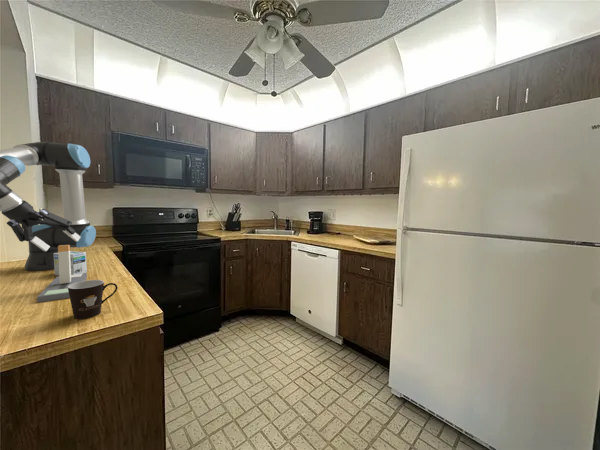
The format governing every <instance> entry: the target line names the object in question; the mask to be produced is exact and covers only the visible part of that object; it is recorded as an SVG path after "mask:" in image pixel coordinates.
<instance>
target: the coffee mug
mask: <svg viewBox="0 0 600 450" xmlns="http://www.w3.org/2000/svg"><path fill="white" fill-rule="evenodd" d="M108 286H114V287H115V289H114V291H113V292H112V293H111V294H109V295H107V296H106V297H105V298H104V299H103V293H104V291H105V289H106V288H107V287H108ZM68 291H69V296H70V298H69V300H70V301H69V302H70V305H71V310H72V314H73V315H72V316H73V319H75V320H86V319H91V318H95V317H97V316H99V315H100V314H101V312H102V304H103V303H105V302H106V301H107V300H108V299H109V298H111V297H112V296H113V295H114V294H115V293H116V292H117V291H118V285H117V284H116V283H114V282H110V283H109V282H108V283H107V284H105V281H104V280H102V279H89V280H86V281H81V282H77V283H73V284H71V285H69V286H68Z"/></svg>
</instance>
